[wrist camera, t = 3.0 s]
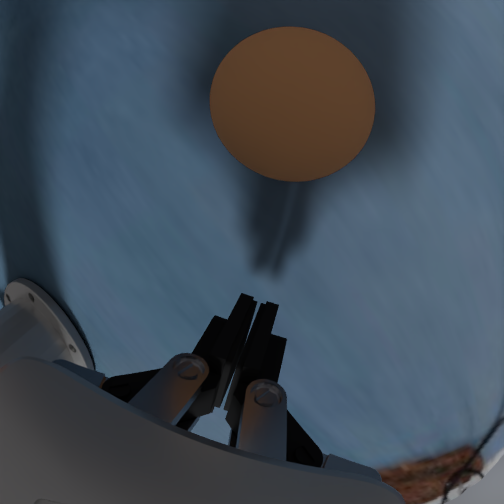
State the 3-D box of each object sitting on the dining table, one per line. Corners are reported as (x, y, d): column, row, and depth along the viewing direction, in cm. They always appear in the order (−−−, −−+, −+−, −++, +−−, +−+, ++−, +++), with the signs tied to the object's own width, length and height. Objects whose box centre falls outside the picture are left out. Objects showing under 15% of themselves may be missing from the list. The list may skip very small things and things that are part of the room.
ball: (247, 182, 13) (205, 210, 8) (223, 69, 11) (167, 29, 6) (369, 165, 11) (411, 181, 6) (344, 48, 9) (363, -10, 4)
